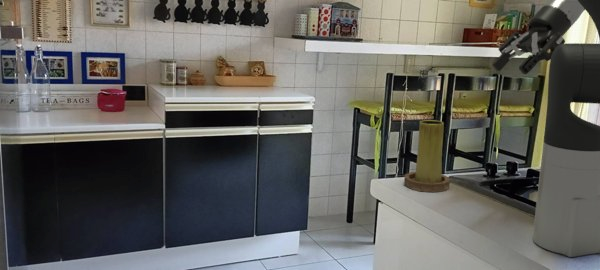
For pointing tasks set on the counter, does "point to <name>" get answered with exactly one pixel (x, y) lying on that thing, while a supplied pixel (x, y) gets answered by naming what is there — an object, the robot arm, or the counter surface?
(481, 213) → the counter surface
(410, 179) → the round tray
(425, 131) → the vase
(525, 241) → the counter surface
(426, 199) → the counter surface
